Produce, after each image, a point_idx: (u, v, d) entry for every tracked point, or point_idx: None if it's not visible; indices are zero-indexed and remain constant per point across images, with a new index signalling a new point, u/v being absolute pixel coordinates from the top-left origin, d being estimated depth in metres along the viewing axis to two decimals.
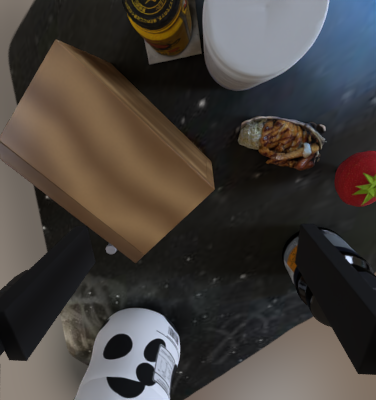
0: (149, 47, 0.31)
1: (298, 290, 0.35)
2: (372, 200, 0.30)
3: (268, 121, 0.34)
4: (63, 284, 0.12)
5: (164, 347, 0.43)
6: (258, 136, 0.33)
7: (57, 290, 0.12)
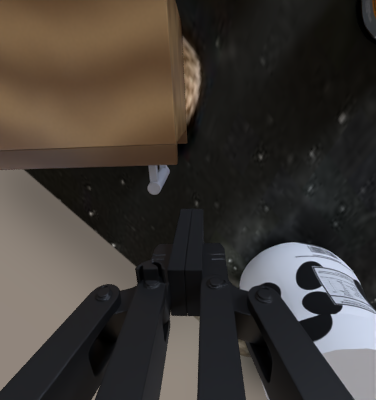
0: None
1: None
2: None
3: None
4: None
5: (320, 267, 0.30)
6: None
7: None
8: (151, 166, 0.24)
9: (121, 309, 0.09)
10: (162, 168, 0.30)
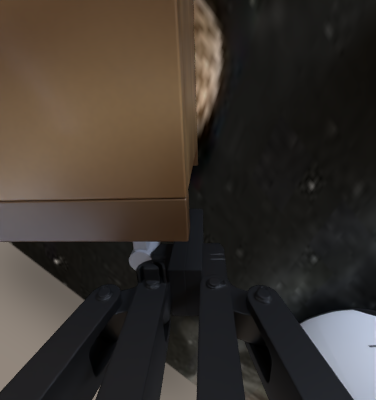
0: None
1: None
2: None
3: None
4: None
5: None
6: None
7: None
8: None
9: (122, 309, 0.09)
10: None
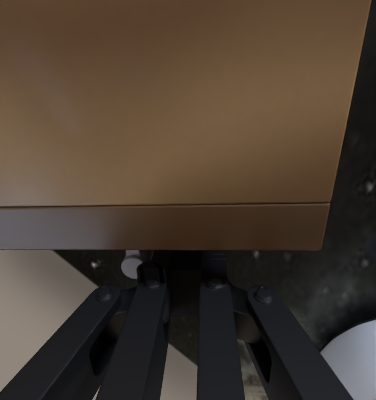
0: None
1: None
2: None
3: None
4: None
5: None
6: None
7: None
8: None
9: (122, 309, 0.09)
10: None
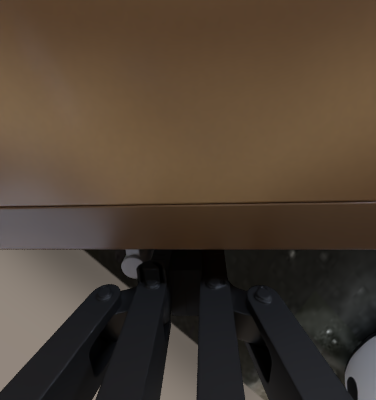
0: None
1: None
2: None
3: None
4: None
5: None
6: None
7: None
8: None
9: (122, 309, 0.09)
10: None
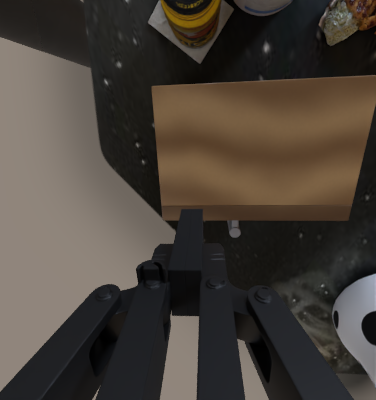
0: (190, 51, 0.31)
1: None
2: None
3: None
4: None
5: None
6: (349, 16, 0.28)
7: None
8: None
9: (122, 309, 0.09)
10: None
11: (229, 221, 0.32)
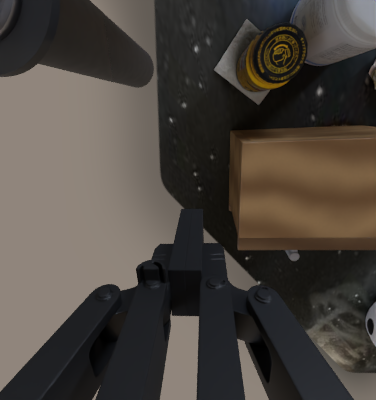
0: (250, 94, 0.35)
1: None
2: None
3: None
4: None
5: None
6: None
7: None
8: None
9: (122, 309, 0.09)
10: None
11: None
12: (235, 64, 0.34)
